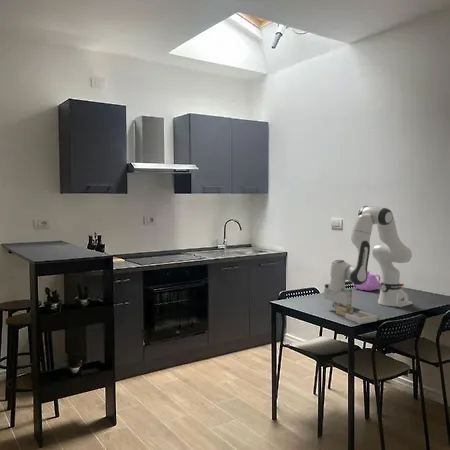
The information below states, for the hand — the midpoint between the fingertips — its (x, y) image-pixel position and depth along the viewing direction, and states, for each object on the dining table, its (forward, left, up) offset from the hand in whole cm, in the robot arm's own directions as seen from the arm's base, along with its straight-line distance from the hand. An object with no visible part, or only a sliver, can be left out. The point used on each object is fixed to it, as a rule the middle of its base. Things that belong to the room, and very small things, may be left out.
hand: (336, 309), depth 280 cm
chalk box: (-12, -8, -2) cm, 15 cm away
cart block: (0, +7, -2) cm, 7 cm away
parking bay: (0, +20, -2) cm, 20 cm away
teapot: (-66, -39, -2) cm, 77 cm away
